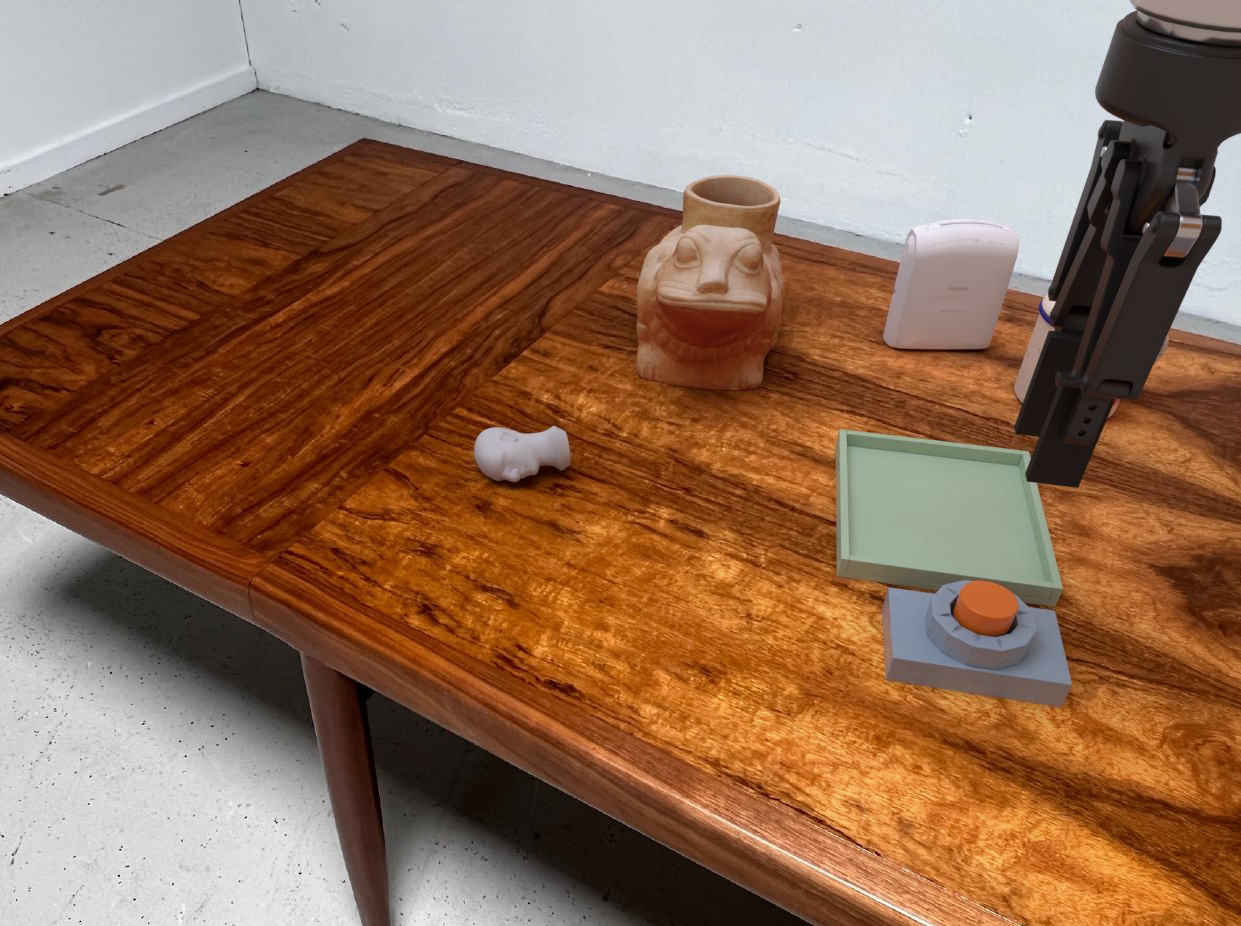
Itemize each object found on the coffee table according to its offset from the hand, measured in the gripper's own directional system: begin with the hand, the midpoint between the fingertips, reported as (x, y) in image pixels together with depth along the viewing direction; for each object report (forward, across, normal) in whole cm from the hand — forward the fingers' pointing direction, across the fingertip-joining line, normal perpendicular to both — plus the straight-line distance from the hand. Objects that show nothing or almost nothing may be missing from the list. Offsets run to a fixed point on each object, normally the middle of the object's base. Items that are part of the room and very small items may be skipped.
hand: (1045, 455), depth 62 cm
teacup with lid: (+17, -36, +13) cm, 42 cm away
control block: (+17, 0, 0) cm, 17 cm away
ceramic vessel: (+17, -39, -21) cm, 47 cm away
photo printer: (+17, -44, +1) cm, 47 cm away
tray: (+17, -15, -1) cm, 22 cm away
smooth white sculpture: (+17, -14, -34) cm, 40 cm away
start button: (+13, 0, 0) cm, 13 cm away
